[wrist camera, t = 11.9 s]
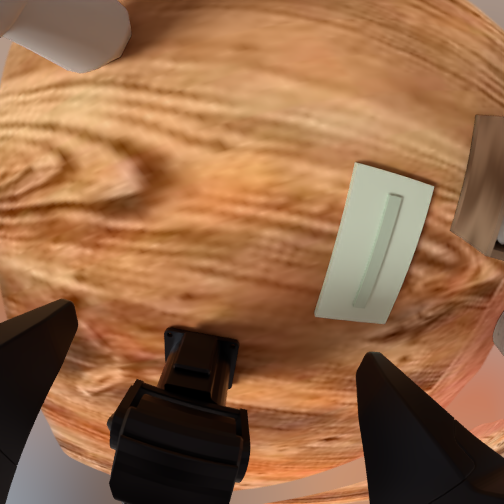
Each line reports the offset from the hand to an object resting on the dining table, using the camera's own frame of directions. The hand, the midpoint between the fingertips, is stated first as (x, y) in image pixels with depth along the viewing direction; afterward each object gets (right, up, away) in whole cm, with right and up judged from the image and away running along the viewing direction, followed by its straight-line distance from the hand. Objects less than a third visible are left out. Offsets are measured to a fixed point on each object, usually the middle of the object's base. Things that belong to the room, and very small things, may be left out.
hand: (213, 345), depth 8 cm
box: (+20, +8, +10) cm, 24 cm away
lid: (+10, +3, +13) cm, 17 cm away
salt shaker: (-9, +18, +7) cm, 21 cm away
